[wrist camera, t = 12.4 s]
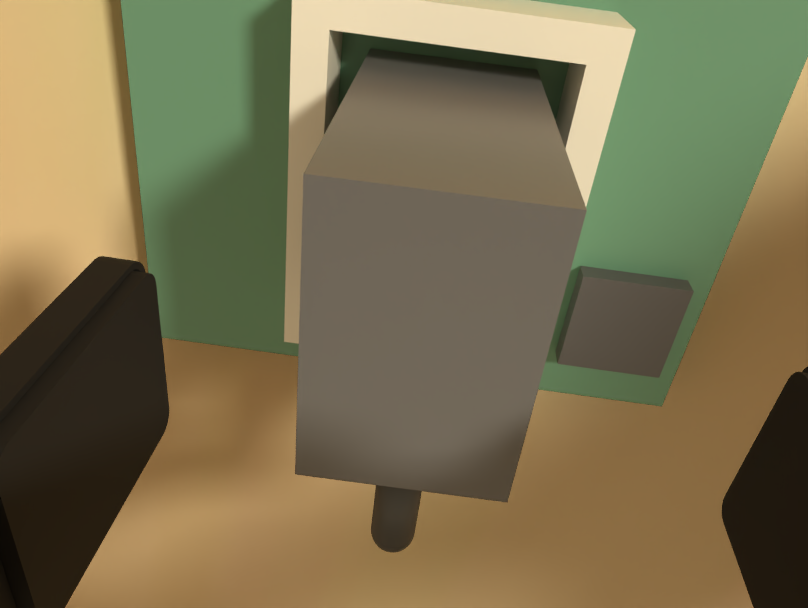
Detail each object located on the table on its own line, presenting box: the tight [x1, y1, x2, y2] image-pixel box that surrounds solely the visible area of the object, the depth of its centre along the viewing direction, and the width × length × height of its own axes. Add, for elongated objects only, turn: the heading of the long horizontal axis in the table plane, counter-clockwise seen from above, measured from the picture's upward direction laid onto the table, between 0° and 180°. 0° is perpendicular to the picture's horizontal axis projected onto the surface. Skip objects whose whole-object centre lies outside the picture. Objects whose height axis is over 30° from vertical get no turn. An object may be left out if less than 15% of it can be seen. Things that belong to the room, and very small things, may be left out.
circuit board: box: [121, 0, 808, 406], centre depth 18 cm, size 16×13×3 cm
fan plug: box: [295, 48, 587, 552], centre depth 16 cm, size 4×10×8 cm, turn 174°
